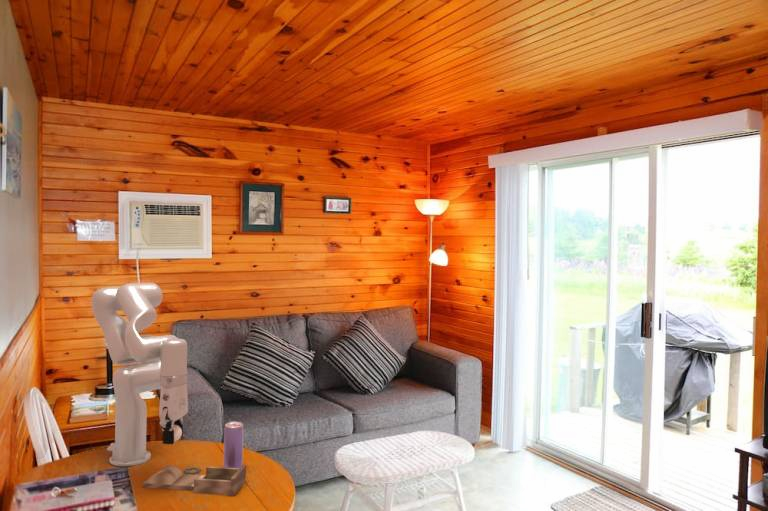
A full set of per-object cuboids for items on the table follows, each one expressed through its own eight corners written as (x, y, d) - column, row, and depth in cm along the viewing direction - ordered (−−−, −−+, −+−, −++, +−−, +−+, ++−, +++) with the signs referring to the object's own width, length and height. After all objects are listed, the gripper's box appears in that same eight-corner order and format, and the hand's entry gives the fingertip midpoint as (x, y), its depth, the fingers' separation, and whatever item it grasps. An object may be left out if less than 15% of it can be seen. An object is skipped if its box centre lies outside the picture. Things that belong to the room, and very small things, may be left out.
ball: (160, 443, 170) (160, 426, 170) (171, 438, 175) (172, 421, 175) (174, 445, 169) (174, 428, 168) (185, 440, 173) (185, 423, 173)
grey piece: (188, 476, 178) (188, 474, 178) (182, 471, 182) (182, 469, 182) (202, 472, 181) (202, 470, 181) (196, 467, 185) (196, 466, 185)
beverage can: (237, 475, 180) (238, 428, 180) (219, 473, 181) (220, 426, 181) (245, 468, 186) (246, 422, 185) (228, 466, 187) (229, 420, 187)
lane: (140, 503, 168) (141, 472, 168) (157, 488, 178) (157, 459, 178) (234, 509, 166) (234, 478, 165) (245, 494, 176) (246, 465, 175)
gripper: (172, 387, 163) (171, 451, 163) (197, 374, 180) (196, 432, 180) (147, 386, 163) (146, 449, 164) (174, 373, 180) (173, 431, 181)
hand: (172, 440), depth 172 cm, fingers closed on ball, 4 cm apart
